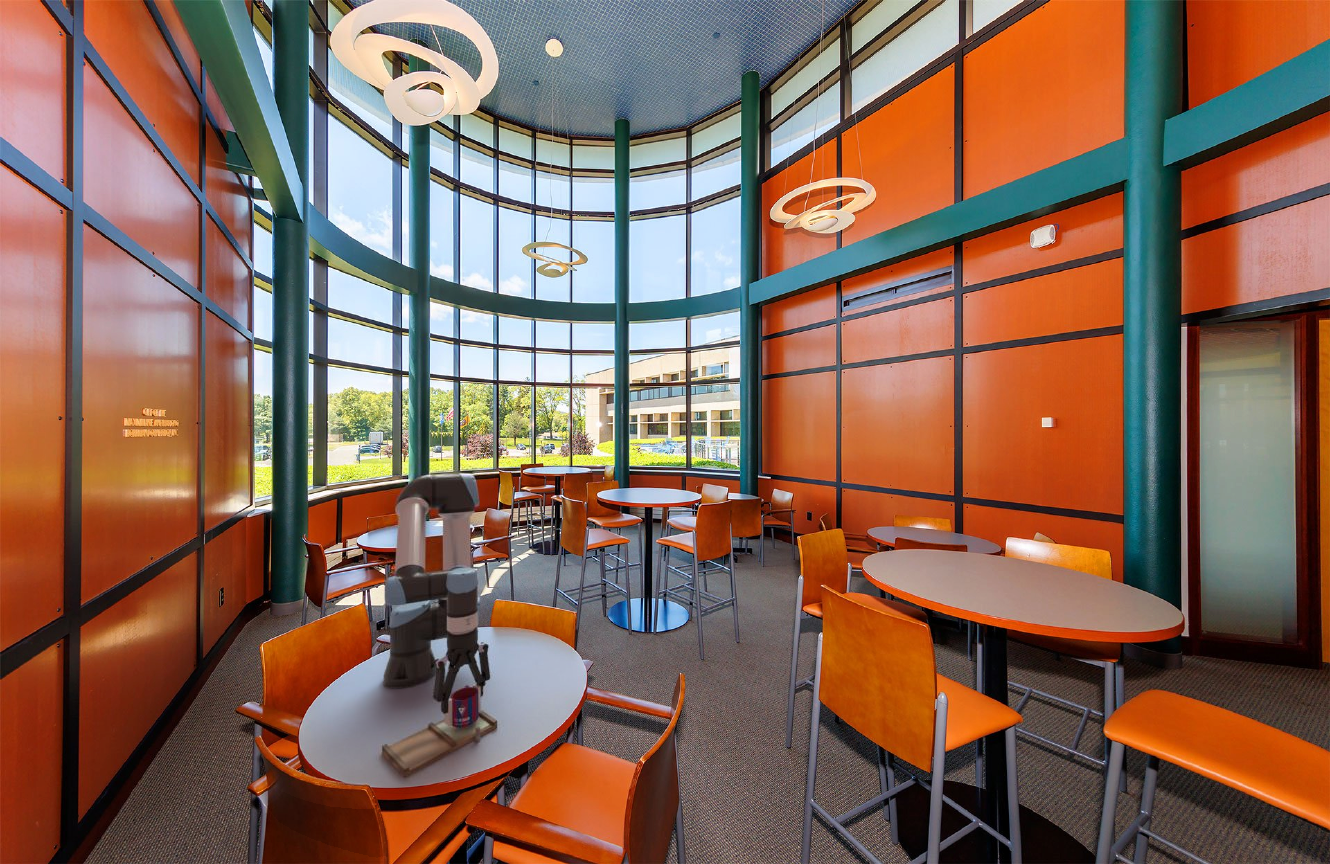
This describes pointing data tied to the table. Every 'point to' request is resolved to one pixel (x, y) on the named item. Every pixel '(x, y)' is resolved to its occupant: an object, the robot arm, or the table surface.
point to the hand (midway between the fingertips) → (462, 716)
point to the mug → (465, 706)
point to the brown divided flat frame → (434, 743)
